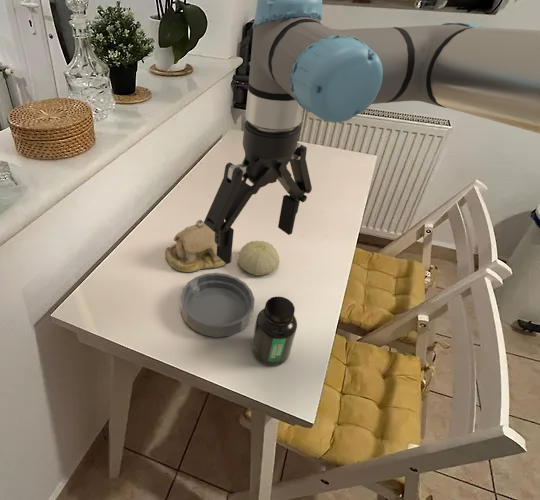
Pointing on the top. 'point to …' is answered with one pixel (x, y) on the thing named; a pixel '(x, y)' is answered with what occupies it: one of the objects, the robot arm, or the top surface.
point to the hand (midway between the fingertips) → (255, 244)
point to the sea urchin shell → (258, 258)
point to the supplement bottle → (274, 331)
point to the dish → (217, 304)
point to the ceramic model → (194, 249)
